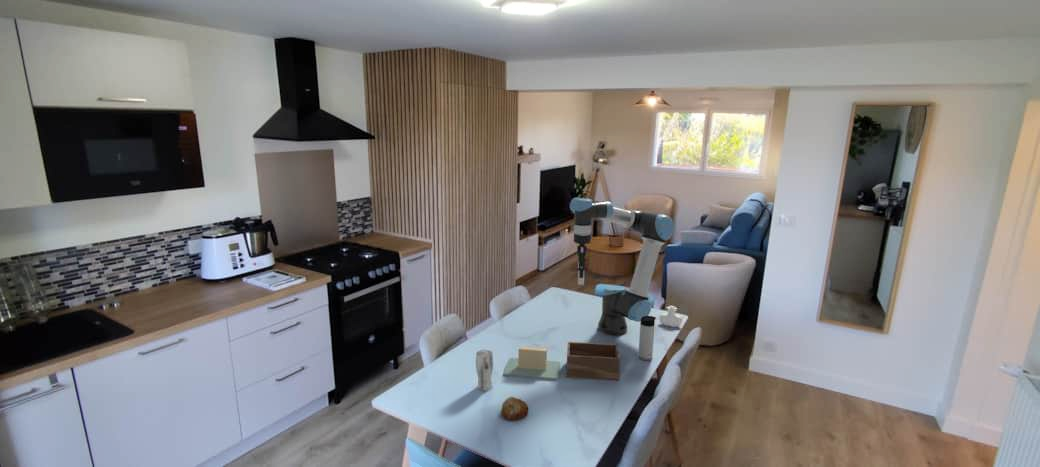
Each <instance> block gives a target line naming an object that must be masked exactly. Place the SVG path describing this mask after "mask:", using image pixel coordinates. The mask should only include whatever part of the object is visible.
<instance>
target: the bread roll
mask: <svg viewBox="0 0 1040 467" xmlns="http://www.w3.org/2000/svg"><path fill="white" fill-rule="evenodd" d="M528 413H529V406H528V404H527V402H526V401H524V400H522V399H521V398H516V397H514V396H510V397H508V398H506V399H505V400H504V401H503V402H502V406H501V410H500V414H501V416H502V418H503V419H504V420H505V421H508V422H517V421H522V420H524V419H526V418H527V416H528Z"/></svg>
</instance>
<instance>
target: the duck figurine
mask: <svg viewBox="0 0 1040 467" xmlns="http://www.w3.org/2000/svg"><path fill="white" fill-rule="evenodd" d="M666 309H667V312H668V313H666V312H665V313H662V314H660V315H659V318H658V319H659V322H660V324H662V325H664V326H665V327H672V328H675V327H676V328H677V327H678V328H679V327H681V325H682V323H683V317H681V316H680V315H678V314H675V313H676V312H677V310H678V308H677V307H676V306H675V305H669V306H666Z"/></svg>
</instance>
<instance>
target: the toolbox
mask: <svg viewBox="0 0 1040 467" xmlns="http://www.w3.org/2000/svg"><path fill="white" fill-rule="evenodd" d="M566 350H567V351H566V353H567V354H566V378H568V379H581V380H585V379H586V380H595V381H596V380H600V381H612V382H613V381H616V382H619V381H620V371H621V370H620V369H621V356H620V351H619V344H617V343H616V344H615V343H602V342H601V343H597V342H583V341H581V342H579V341H567V349H566Z"/></svg>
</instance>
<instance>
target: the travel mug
mask: <svg viewBox="0 0 1040 467" xmlns="http://www.w3.org/2000/svg"><path fill="white" fill-rule="evenodd" d="M656 320H657V317H656V316H652V315H648V316H643V317H642V318H641V321H640V326H639V340H638V342H639V343H638V358H639V359H640V360H642V361H651V360H653V356H654V355H653V353H654V352H653V351H654V338H655V325H656V324H655V322H656Z"/></svg>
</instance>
